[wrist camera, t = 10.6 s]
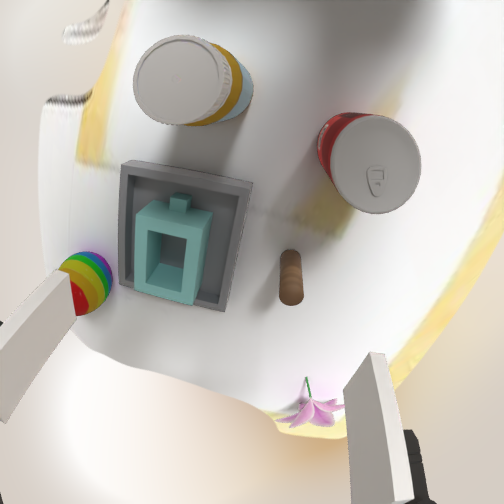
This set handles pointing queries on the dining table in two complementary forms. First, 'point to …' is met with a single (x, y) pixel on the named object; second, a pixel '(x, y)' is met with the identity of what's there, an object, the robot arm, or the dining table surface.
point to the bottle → (191, 82)
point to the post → (291, 278)
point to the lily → (313, 413)
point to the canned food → (370, 161)
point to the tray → (173, 248)
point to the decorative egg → (88, 280)
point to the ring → (149, 247)
